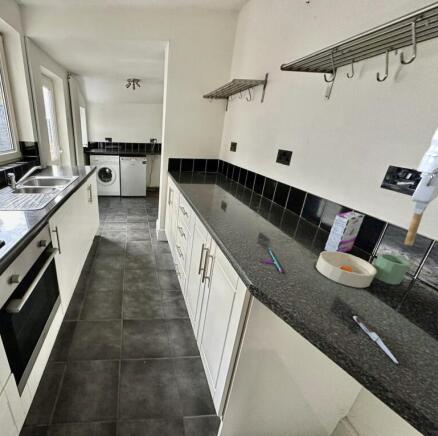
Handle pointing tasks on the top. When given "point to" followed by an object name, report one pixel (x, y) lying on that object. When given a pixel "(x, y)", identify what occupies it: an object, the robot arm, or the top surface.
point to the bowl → (335, 260)
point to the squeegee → (274, 262)
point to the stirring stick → (413, 229)
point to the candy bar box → (344, 232)
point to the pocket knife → (374, 336)
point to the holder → (390, 268)
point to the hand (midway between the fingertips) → (418, 212)
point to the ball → (346, 268)
